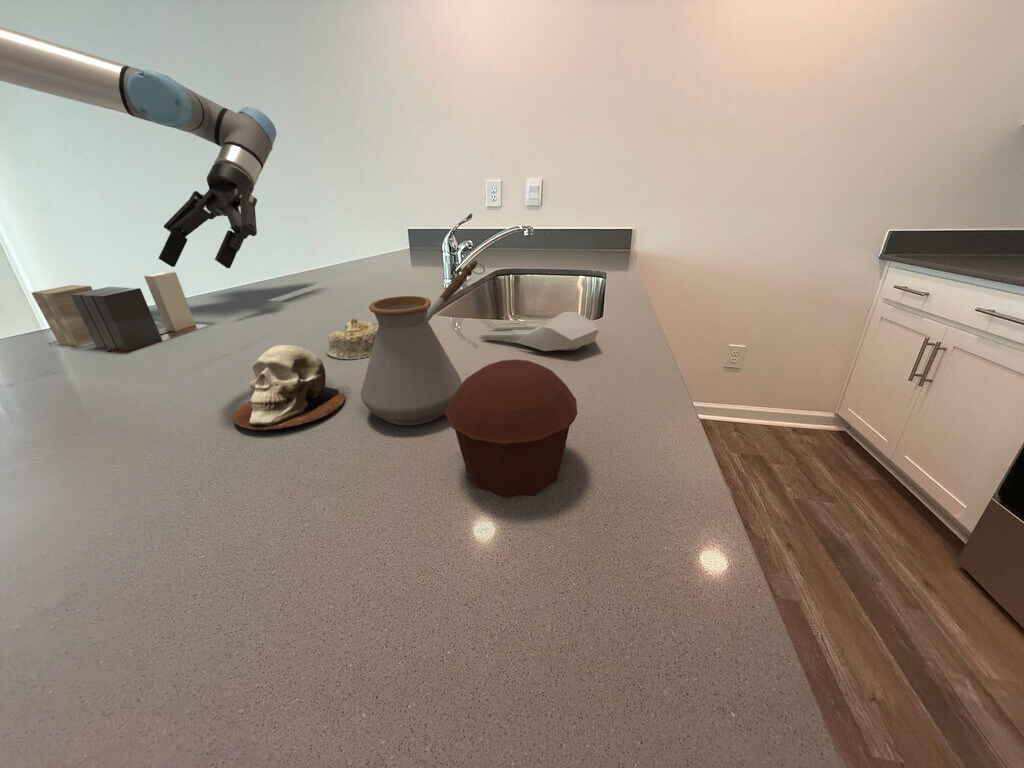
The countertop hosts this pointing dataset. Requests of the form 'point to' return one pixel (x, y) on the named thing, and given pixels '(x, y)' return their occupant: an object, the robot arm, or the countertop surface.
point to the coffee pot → (410, 360)
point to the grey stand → (121, 319)
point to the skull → (287, 390)
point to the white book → (170, 300)
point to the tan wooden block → (64, 314)
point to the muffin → (512, 426)
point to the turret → (548, 332)
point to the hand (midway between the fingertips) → (193, 263)
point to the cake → (353, 340)
